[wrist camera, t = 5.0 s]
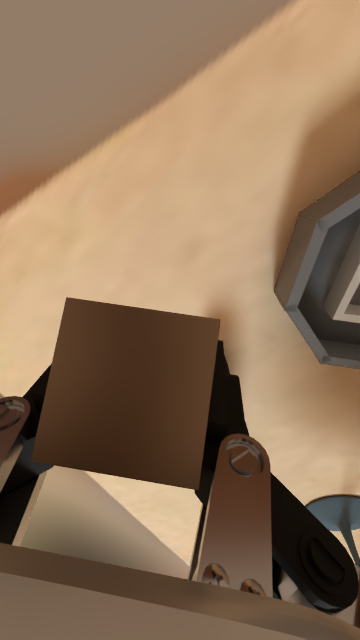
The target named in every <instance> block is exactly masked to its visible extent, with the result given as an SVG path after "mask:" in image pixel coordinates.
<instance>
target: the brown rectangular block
mask: <svg viewBox="0 0 360 640" xmlns="http://www.w3.org/2000/svg"><path fill="white" fill-rule="evenodd" d="M219 328H220V319H213V318H206V317H199V316H192V315H185V314H178V313H171V312H164V311H157V310H151V309H144V308H137V307H130V306H123V305H116V304H109V303H102V302H95V301H88V300H82V299H75V298H68V297H66V302H65V306H64V311H63V316H62V320H61V325H60V329H59V334H58V338H57V343H56V347H55V352H54V356H53V361H52V366H51V370H50V375H49V379H48V384H47V388H46V393H45V397H44V402H43V407H42V411H41V416H40V420H39V425H38V429H37V434H36V438H35V443H34V447H33V452H32V457H31V461H33V462H39V463H44V464H50V465H56V466H62V467H68V468H74V469H79V470H85V471H90V472H96V473H102V474H108V475H113V476H119V477H125V478H131V479H136V480H142V481H148V482H154V483H159V484H165V485H171V486H177V487H182V488H188V489H194V490H199V483H200V476H201V468H202V460H203V452H204V445H205V437H206V429H207V421H208V413H209V406H210V398H211V390H212V382H213V375H214V367H215V359H216V351H217V343H218V336H219Z"/></svg>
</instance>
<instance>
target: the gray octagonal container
mask: <svg viewBox="0 0 360 640" xmlns="http://www.w3.org/2000/svg"><path fill="white" fill-rule="evenodd" d="M298 215H299V216H298V219H297V222H296V226H295V229H294V232H293V235H292V238H291V241H290V244H289V247H288V250H287V253H286V256H285V259H284V262H283V265H282V268H281V271H280V274H279V277H278V280H277V284H276V287H275V289H274V293H275V295H276V296H277V298H278V300H279V302H280V304H281V305H282V307H283V309H284V311H286V312H287V314H288V315H289V317H290V318H291V319H292V321H293V322H294V324H295V325H296V327H297V328H298V330H299V331H300V333H301V334H302V336H303V337H304V339H305V340H306V342H307V343H308V345H309V346H310V348H311V349H312V351H313V352H314V354H315V356H316V357H317V359H318V361H319V363H321V364H328V365H335V366H342V367H349V368H355V369H360V171H359V172H358V173H357V174H355V175H354V176H352V177H351V178H349V179H348V180H347V181H345V182H344V183H342V184H341V185H339V186H338V187H336V188H335V189H334V190H332V191H331V192H329V193H328V194H326V195H325V196H324V197H322V198H321V199H319V200H318V201H316V202H315V203H314V204H312V205H311V206H309V207H308V208H306V209H305V210H304V211H302V212H300V213H299V214H298Z"/></svg>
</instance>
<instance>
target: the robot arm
mask: <svg viewBox="0 0 360 640" xmlns="http://www.w3.org/2000/svg"><path fill="white" fill-rule="evenodd" d="M51 366H52V364H51V365H50V366H49V367H48V368H47V369H46V371H45V372H44V373H43V374H42V375H41V376H40V378H39V379H38V380H37V381H36V382H35V383H34V385H33V386H32V387H31V388H30V389H29V390H28V392H27V393H26V394H25V395H24V396H23V397H17V396H11V397H4V398H1V399H0V640H360V568H359V567H358V566H357V565H356V564H354V563H353V560H352V559H351V557H350V555H349V554H348V552H347V550H346V548H345V547H344V546H343V545H342V544H341V543H340V541H339V540H338V539H337V538H336V537H335V536H334V535H333V534H332V533H331V532H330V531H329V530H328V529H327V528H326V527H325V526H324V525H323V524H322V523H321V522H320V521H319V520H318V519H317V518H316V517H315V516H314V515H313V514H312V513H311V512H310V511H309V510H308V509H307V508H306V507H305V506H304V505H303V504H302V503H301V502H300V501H299V500H298V499H297V498H296V497H295V496H294V495H293V494H292V493H291V492H290V491H289V490H288V489H287V488H286V487H285V486H284V485H283V484H282V483H281V482H280V481H279V480H278V479H277V478H276V477H275V476H274V475H273V474H272V473H271V472H270V461H269V457H268V455H267V453H266V450H265V449H264V448H263V447H262V445H261V444H260V443H259V442H257V441H256V440H255V439H254V438H252V437H249V436H247V435H246V427H245V419H244V412H243V404H242V396H241V389H240V381H239V377H238V376H237V375H231V374H225V363H224V348H223V341H220V340H218V343H217V351H216V359H215V367H214V375H213V382H212V390H211V398H210V406H209V413H208V421H207V429H206V437H205V445H204V452H203V460H202V468H201V476H200V483H199V490H195V494H196V495H197V497H198V498H199V499H200V501H201V502H202V507H201V512H200V517H199V522H198V527H197V532H196V537H195V542H194V547H193V553H192V558H191V563H190V568H189V573H188V578H187V579H181V578H177V577H172V576H166V575H161V574H157V573H152V572H146V571H142V570H136V569H132V568H127V567H122V566H116V565H112V564H106V563H101V562H96V561H91V560H86V559H81V558H76V557H71V556H65V555H60V554H55V553H50V552H45V551H40V550H35V549H29V548H24V547H19V546H20V543H21V541H22V538H23V535H24V533H25V530H26V527H27V525H28V522H29V519H30V517H31V514H32V511H33V509H34V506H35V503H36V500H37V498H38V495H39V492H40V490H41V487H42V485H43V482H44V479H45V476H46V474H47V470H49V469H50V468H52V467H53V466H54V465H50V464H44V463H39V462H33V461H31V457H32V452H33V447H34V443H35V438H36V434H37V429H38V425H39V420H40V416H41V411H42V407H43V402H44V397H45V393H46V388H47V384H48V379H49V375H50V370H51Z"/></svg>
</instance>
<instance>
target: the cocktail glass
mask: <svg viewBox="0 0 360 640" xmlns="http://www.w3.org/2000/svg"><path fill="white" fill-rule="evenodd" d="M306 508H307V509H308V510H309V511H310V512H311V513H312V514H313V515H314V516H315V517H316V518H317V519H318V520H319V521H320V522H321V523H322V524H323V525H324V526H325V527H326V528H327V529H328V530H330V531H341V533H342V535H343V537H344V539H345V541H346V543H347V545H348V547H349V549H350V552H351V554H352V556H353V559H354V561H355V564H356V565H357V566H358V567H359V568H360V558H359V556H358V553H357V550H356V547H355V544H354V540H353V537H352V533H351V530H355V529H359V528H360V498H359V497H354V496H331V497H325V498H321V499H318V500H315V501H313V502H311V503H310V504H308V505H307V506H306Z"/></svg>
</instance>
